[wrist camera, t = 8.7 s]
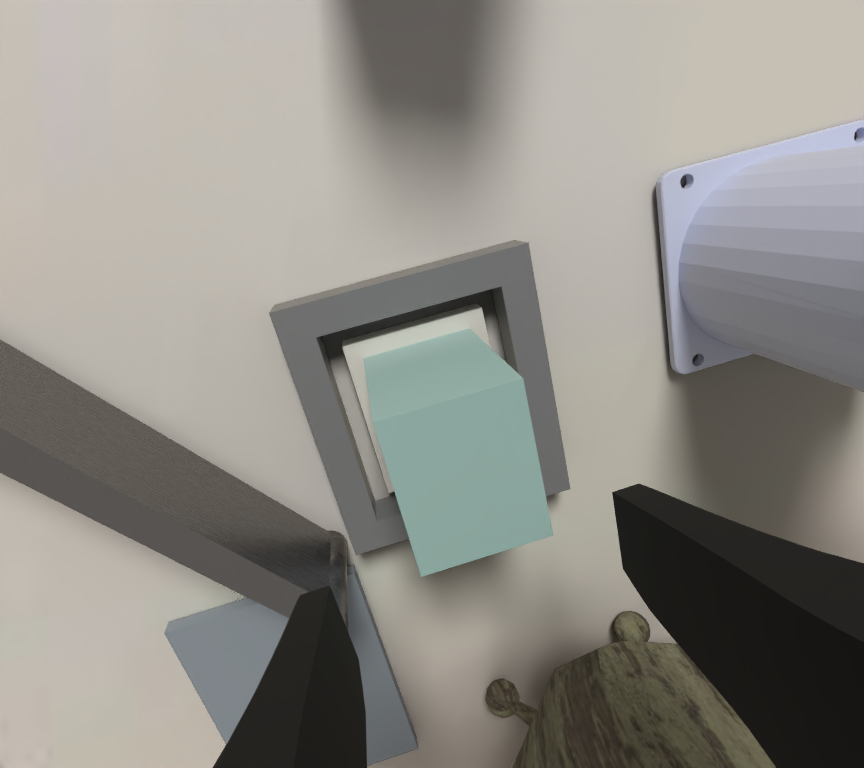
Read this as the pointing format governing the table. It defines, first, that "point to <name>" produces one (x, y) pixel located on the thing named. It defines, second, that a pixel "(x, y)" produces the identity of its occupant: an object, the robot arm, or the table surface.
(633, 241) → the table surface
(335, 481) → the dock
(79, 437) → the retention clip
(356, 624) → the mat
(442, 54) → the table surface
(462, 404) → the plug
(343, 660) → the robot arm
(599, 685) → the tabletop clock
